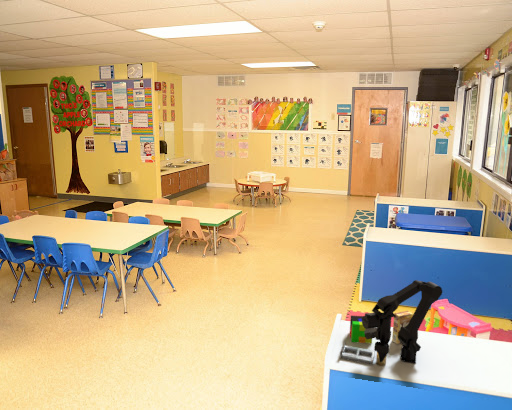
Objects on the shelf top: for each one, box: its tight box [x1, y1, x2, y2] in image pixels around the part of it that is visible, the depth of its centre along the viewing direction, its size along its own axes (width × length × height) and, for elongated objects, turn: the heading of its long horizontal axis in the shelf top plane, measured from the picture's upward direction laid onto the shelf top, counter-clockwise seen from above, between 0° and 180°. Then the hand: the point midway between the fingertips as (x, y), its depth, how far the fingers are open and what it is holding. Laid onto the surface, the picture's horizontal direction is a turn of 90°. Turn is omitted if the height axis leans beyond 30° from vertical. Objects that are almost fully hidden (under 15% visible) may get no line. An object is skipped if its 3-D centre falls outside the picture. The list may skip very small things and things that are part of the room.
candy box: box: [391, 310, 414, 345], centre depth 219 cm, size 9×4×15 cm, turn 112°
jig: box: [339, 340, 376, 366], centre depth 205 cm, size 15×10×4 cm, turn 69°
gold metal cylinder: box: [375, 351, 388, 367], centre depth 199 cm, size 4×4×6 cm
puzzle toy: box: [349, 315, 373, 344], centre depth 222 cm, size 10×10×10 cm
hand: (381, 356), depth 199 cm, fingers open, 9 cm apart
